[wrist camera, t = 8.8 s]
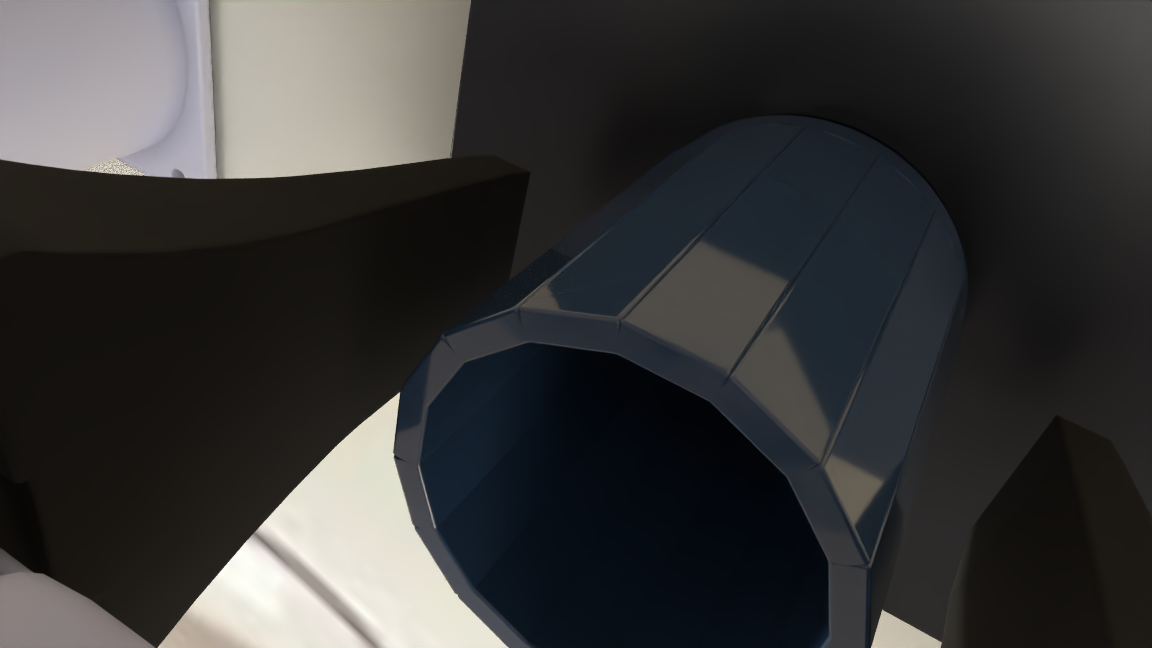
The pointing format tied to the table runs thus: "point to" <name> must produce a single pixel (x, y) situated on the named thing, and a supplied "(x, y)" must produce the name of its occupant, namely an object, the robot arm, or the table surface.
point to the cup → (697, 403)
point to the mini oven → (921, 138)
